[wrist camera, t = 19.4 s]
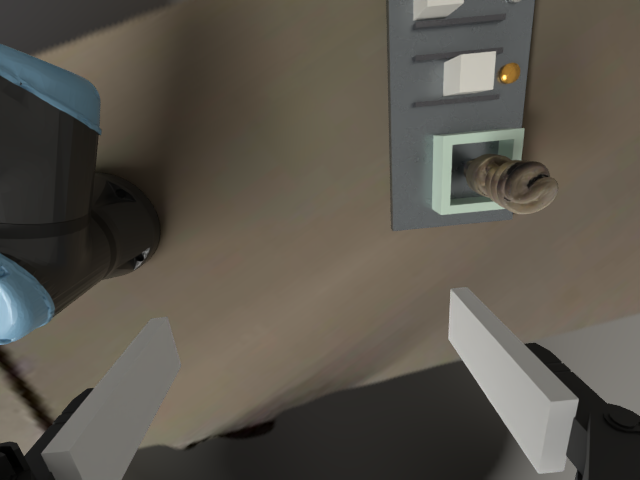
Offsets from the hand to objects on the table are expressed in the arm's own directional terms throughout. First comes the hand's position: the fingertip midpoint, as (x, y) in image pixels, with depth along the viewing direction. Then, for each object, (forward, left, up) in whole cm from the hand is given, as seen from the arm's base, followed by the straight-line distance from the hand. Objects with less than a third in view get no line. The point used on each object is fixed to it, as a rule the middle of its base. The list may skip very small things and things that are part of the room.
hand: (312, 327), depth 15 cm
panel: (+21, +9, -35) cm, 42 cm away
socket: (+23, +1, -33) cm, 41 cm away
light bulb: (+23, +1, -34) cm, 41 cm away
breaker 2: (+21, +13, -33) cm, 42 cm away
